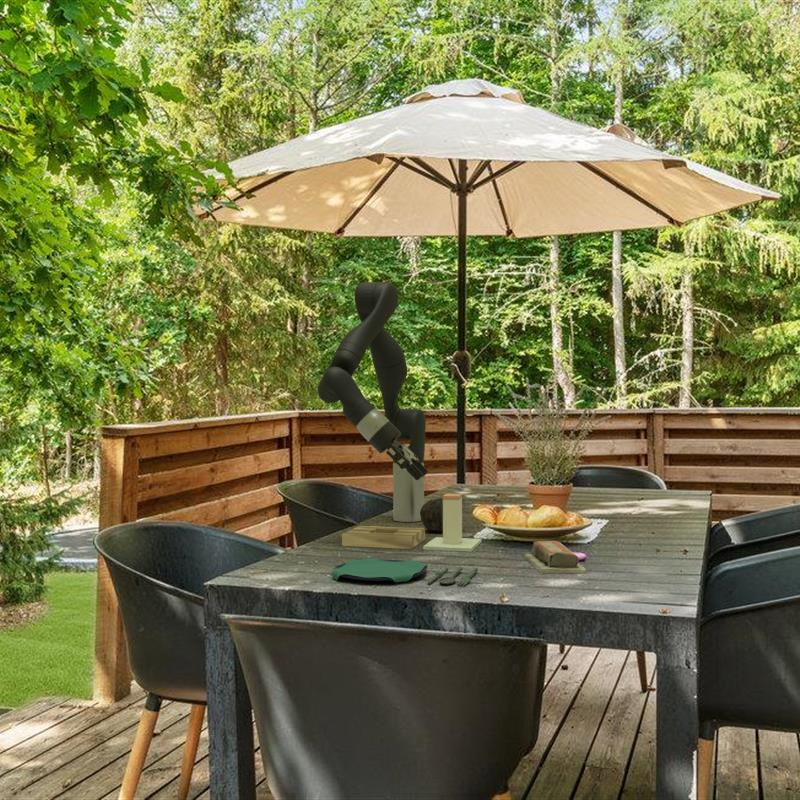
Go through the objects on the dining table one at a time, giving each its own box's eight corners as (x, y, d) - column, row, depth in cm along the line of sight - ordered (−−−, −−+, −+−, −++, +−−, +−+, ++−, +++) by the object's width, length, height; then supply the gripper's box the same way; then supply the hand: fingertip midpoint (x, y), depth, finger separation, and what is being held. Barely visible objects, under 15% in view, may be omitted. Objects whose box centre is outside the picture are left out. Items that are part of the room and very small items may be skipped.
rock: (467, 526, 257) (462, 491, 256) (452, 537, 247) (447, 501, 246) (434, 527, 261) (429, 493, 261) (418, 539, 251) (413, 503, 250)
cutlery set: (352, 565, 208) (352, 555, 208) (482, 573, 199) (482, 563, 199) (318, 584, 189) (318, 573, 189) (460, 593, 180) (460, 582, 180)
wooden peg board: (359, 537, 245) (359, 525, 245) (424, 539, 240) (424, 528, 240) (342, 545, 231) (342, 534, 231) (411, 549, 227) (411, 536, 227)
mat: (436, 540, 239) (436, 537, 239) (481, 542, 236) (481, 538, 236) (423, 549, 226) (423, 546, 226) (471, 551, 223) (471, 548, 223)
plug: (446, 540, 234) (446, 493, 234) (462, 541, 233) (461, 493, 233) (443, 543, 229) (442, 495, 229) (458, 544, 228) (458, 496, 228)
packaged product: (524, 539, 214) (566, 538, 215) (524, 560, 214) (566, 559, 215) (540, 553, 196) (586, 552, 197) (541, 576, 196) (586, 575, 197)
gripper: (382, 421, 226) (429, 468, 224) (393, 419, 240) (437, 463, 238) (361, 442, 227) (407, 489, 225) (373, 439, 241) (417, 483, 239)
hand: (423, 476), depth 232 cm, fingers open, 8 cm apart
